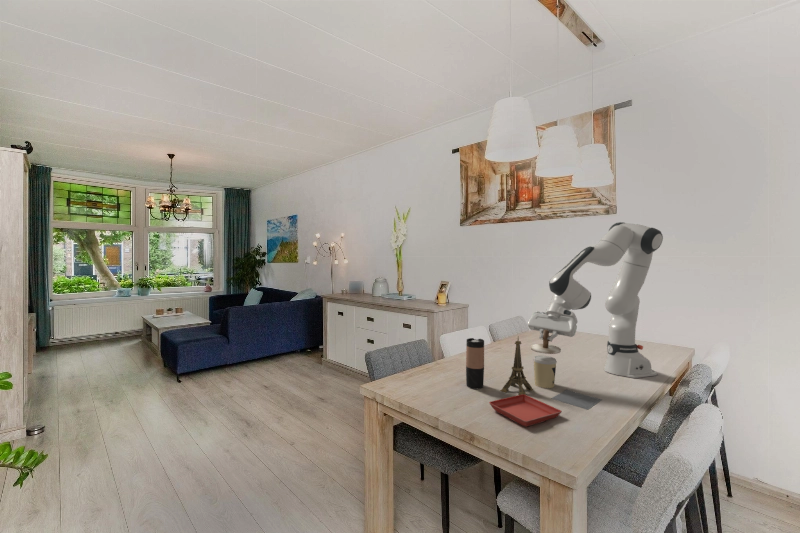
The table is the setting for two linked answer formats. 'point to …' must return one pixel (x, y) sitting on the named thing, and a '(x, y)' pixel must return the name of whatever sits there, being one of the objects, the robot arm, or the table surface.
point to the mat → (577, 399)
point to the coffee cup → (544, 371)
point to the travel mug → (474, 363)
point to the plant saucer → (524, 409)
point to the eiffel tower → (517, 370)
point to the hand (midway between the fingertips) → (545, 339)
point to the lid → (545, 346)
